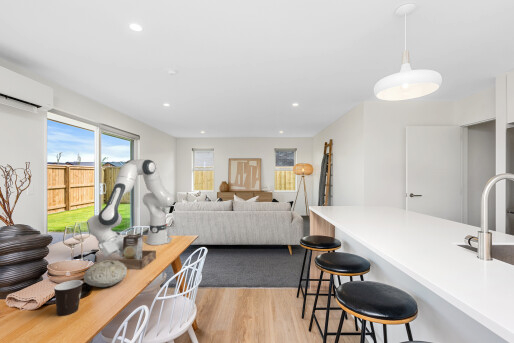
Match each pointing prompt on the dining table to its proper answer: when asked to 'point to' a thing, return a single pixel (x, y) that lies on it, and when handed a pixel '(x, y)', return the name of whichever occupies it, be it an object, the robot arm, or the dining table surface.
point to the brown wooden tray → (139, 264)
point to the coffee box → (132, 247)
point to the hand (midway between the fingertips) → (123, 255)
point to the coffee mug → (67, 297)
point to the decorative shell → (105, 273)
